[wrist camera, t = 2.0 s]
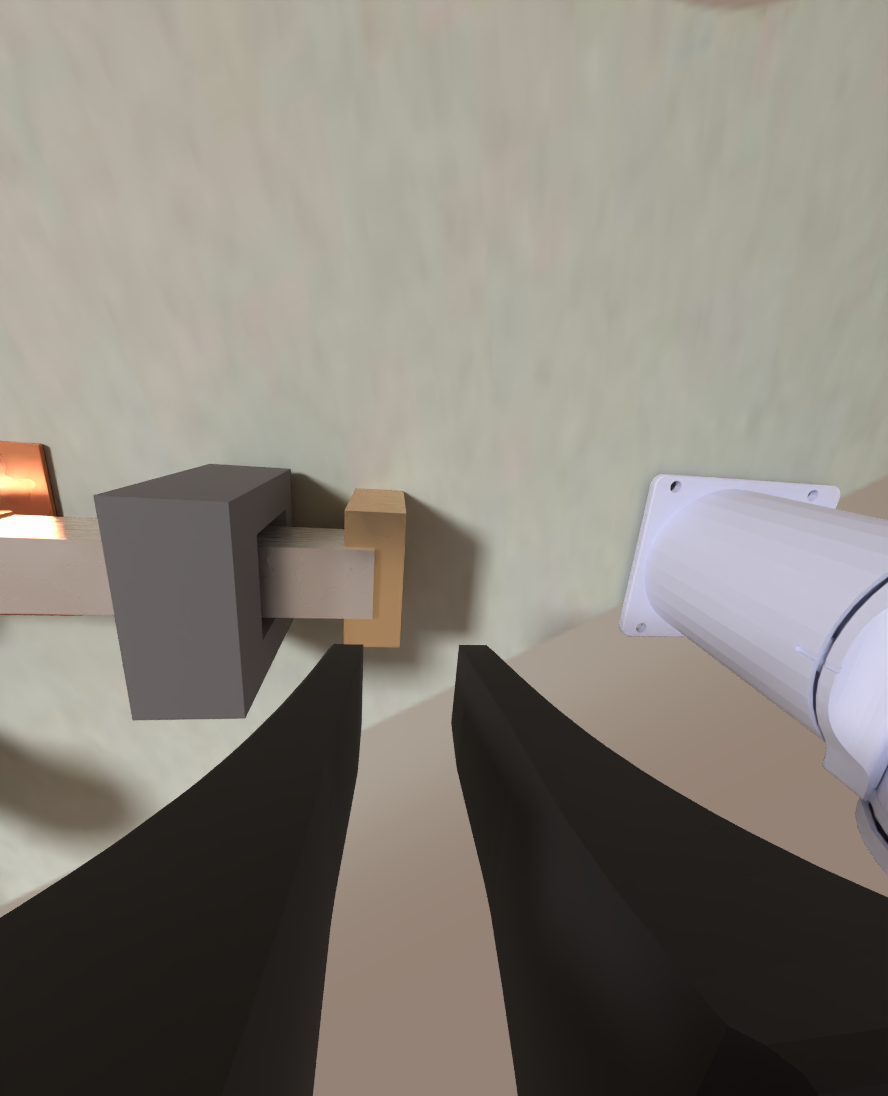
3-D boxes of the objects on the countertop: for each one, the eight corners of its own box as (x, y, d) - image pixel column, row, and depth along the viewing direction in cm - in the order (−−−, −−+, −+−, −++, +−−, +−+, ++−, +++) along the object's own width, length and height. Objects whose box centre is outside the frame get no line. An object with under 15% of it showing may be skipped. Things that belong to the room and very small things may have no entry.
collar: (290, 468, 16) (228, 501, 10) (295, 614, 18) (244, 718, 12) (209, 463, 16) (93, 495, 10) (223, 613, 18) (132, 720, 12)
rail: (404, 467, 17) (408, 485, 13) (397, 618, 19) (398, 676, 15) (-234, 426, 14) (-502, 431, 10) (-162, 609, 16) (-359, 679, 12)
